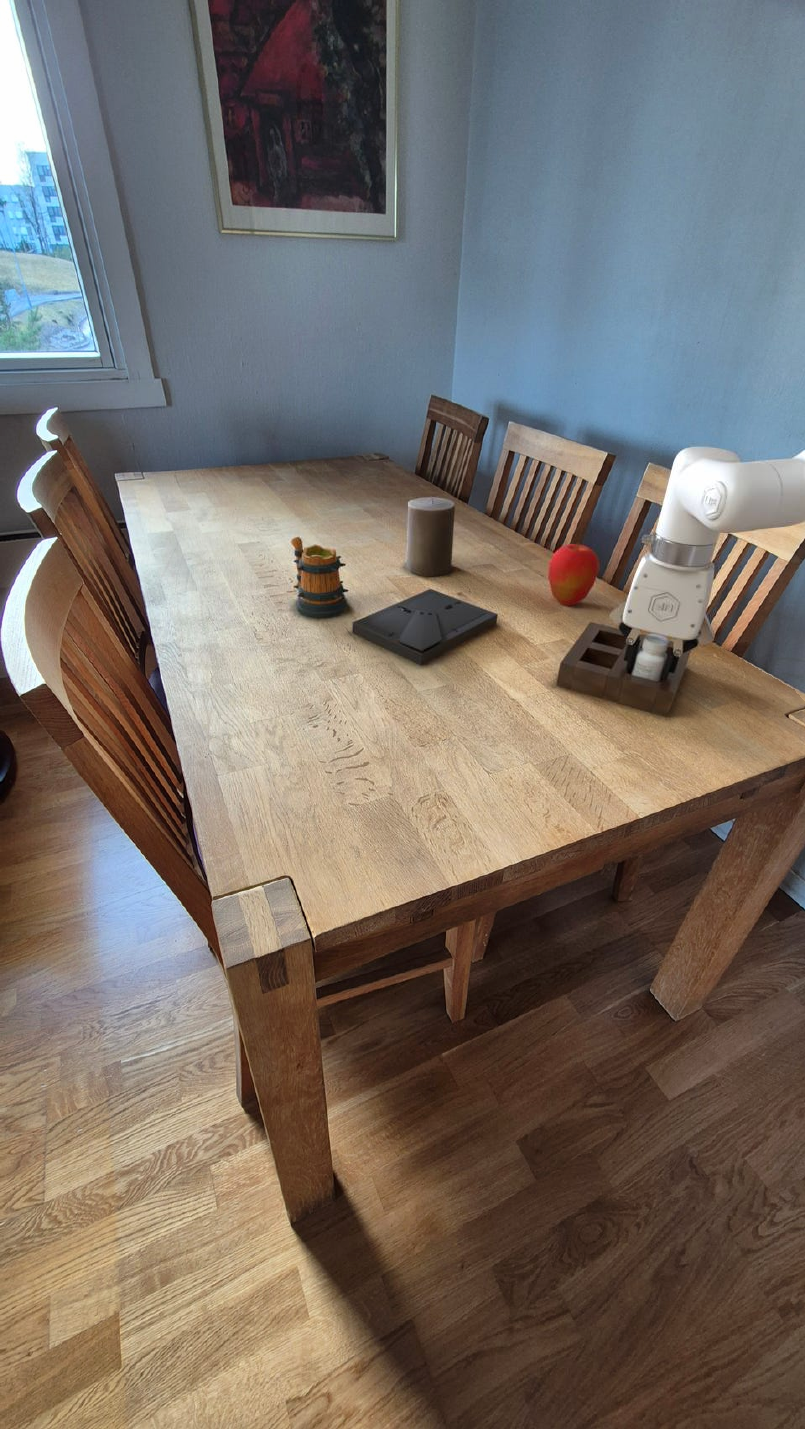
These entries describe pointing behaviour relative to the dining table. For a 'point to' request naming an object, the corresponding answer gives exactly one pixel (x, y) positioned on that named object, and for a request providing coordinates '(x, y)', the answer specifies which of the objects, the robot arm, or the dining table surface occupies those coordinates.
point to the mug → (318, 581)
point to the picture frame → (424, 625)
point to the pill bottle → (651, 658)
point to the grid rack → (616, 671)
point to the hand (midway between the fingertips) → (648, 669)
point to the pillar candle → (430, 536)
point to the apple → (572, 573)
